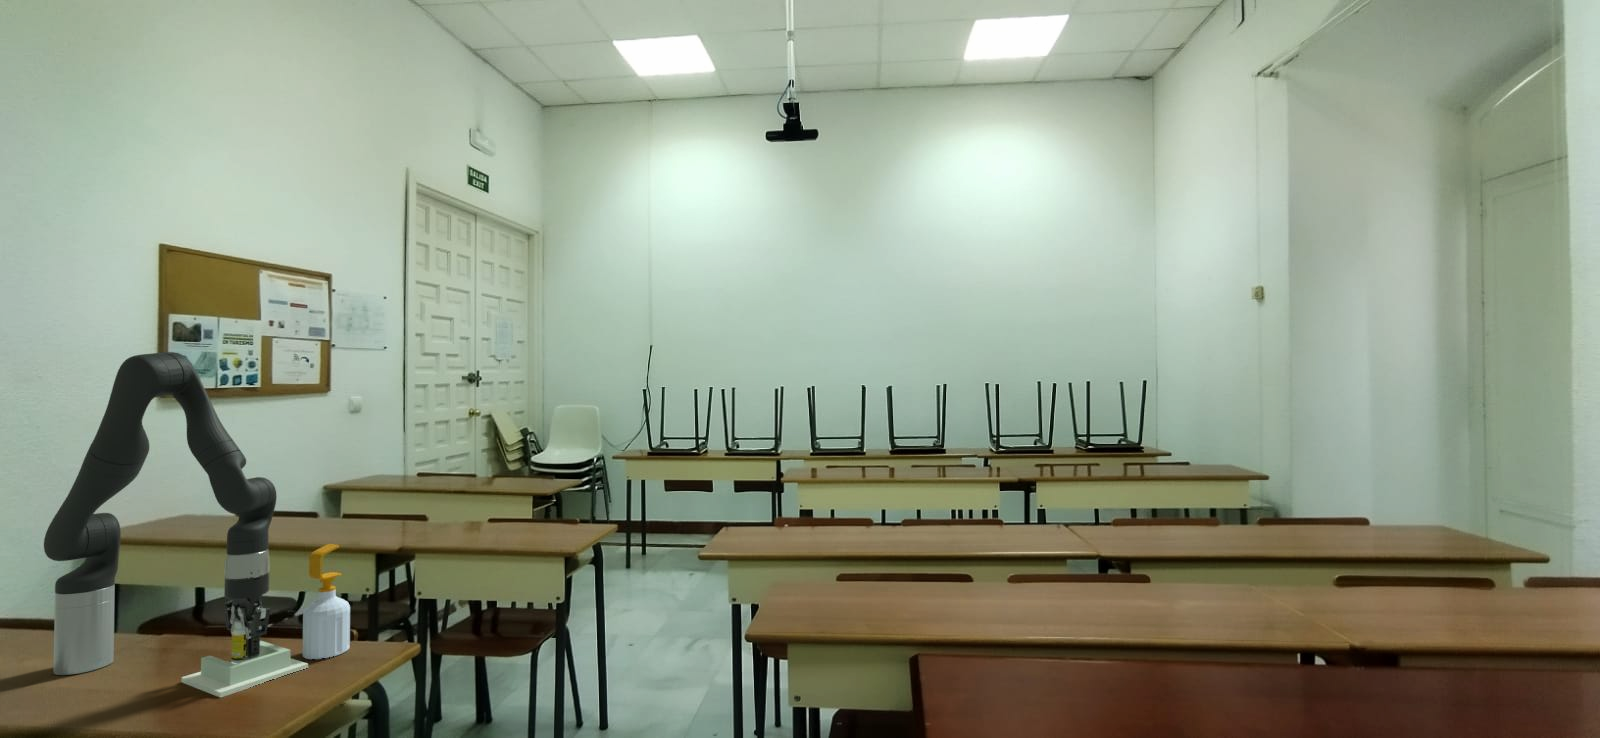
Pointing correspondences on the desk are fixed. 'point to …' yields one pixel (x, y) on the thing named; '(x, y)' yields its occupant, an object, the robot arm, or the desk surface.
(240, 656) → the supplement bottle
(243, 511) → the robot arm
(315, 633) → the soap bottle
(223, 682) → the u rest
